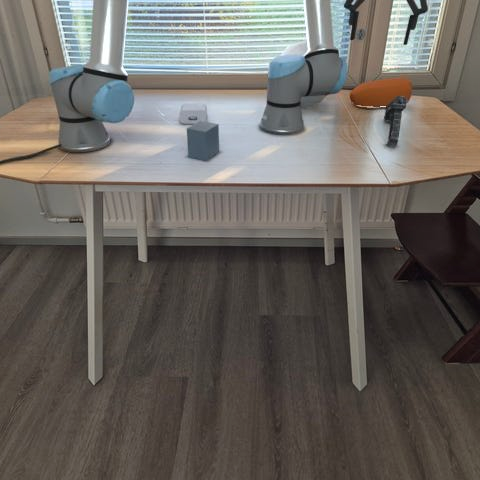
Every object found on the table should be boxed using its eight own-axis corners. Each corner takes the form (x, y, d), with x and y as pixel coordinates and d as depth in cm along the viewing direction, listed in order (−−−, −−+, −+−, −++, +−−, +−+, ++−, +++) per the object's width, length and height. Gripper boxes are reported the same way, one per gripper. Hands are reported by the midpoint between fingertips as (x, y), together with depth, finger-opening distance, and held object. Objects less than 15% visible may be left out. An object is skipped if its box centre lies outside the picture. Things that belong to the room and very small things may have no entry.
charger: (207, 110, 158) (206, 123, 146) (183, 110, 158) (180, 123, 146) (206, 98, 156) (205, 110, 143) (182, 98, 155) (179, 110, 143)
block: (219, 151, 125) (218, 123, 120) (206, 161, 120) (205, 131, 115) (201, 148, 128) (200, 120, 123) (188, 157, 122) (186, 128, 117)
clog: (353, 116, 162) (414, 107, 163) (355, 88, 156) (419, 80, 157) (344, 107, 172) (401, 99, 173) (345, 80, 165) (405, 72, 166)
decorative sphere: (262, 73, 173) (275, 25, 150) (318, 71, 177) (338, 25, 154) (272, 121, 166) (286, 79, 143) (329, 118, 170) (353, 77, 147)
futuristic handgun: (389, 146, 153) (397, 104, 149) (399, 145, 125) (409, 94, 122) (379, 144, 154) (386, 103, 150) (386, 144, 126) (395, 93, 122)
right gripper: (456, -58, 93) (429, 43, 105) (347, -59, 101) (334, 35, 113) (455, -59, 87) (427, 48, 100) (340, -60, 95) (328, 39, 108)
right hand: (378, 41), depth 106 cm, fingers open, 13 cm apart
